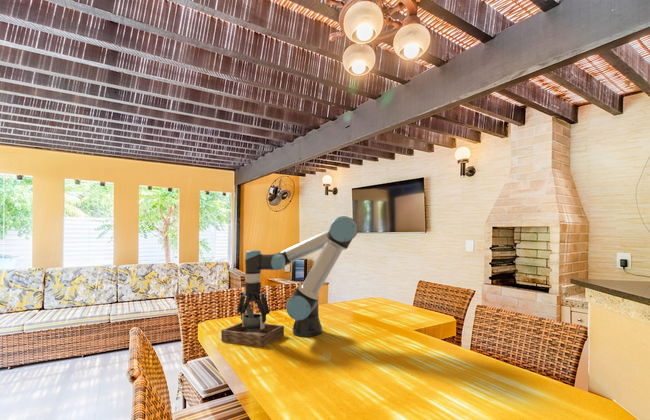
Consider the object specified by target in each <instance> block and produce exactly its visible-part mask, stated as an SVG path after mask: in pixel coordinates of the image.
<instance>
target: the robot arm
mask: <svg viewBox="0 0 650 420" xmlns="http://www.w3.org/2000/svg"><path fill="white" fill-rule="evenodd" d="M358 233H359V225H358V223H357V222H356V220H355V219H354V218H351V217H349V216H345V215H341V216H337V217H336V218H334V220H332V222H331V223H330V225H329V227H328V229H327V230H324V231H322V232H320V233H318V234H316V235H313V236H312V237H309V238H307V239H305V240H302V241H301V242H298V243H296V244H294V245H292V246H290V247H287V248H286V249H283V250H281V251H279V252H277V253H273V254H271V253H270V254H263V253H261V250H257V249H256V250H255V249H254V250H251V249H250V250H246V251H245V257H244V258H245V259H244V265H245V268H244V269H245V270H244V271H245V273H244V274H245V275H244V277H245V279H244V280H245V287H244V290H245V291H242V292H240V297H239V302H238V307H237V312H238V313H240V320H241V323H242V327H245V325H244V322H243V317H244V316H245V315H248V314H247V309H246V307H247V305H249V304H250V303H251V302H255V304H256V306H257V308H258V310H259V312H260V314H261V316H260V329H261V330H262V329H264V328H265V324H266V321H267V315H268V314H270V307H269V305H268V300H267V293H266V292H264V293H262V292H261V289H262V283H261V280H262V278H261V277H262V275H261V273H262V271H263V270H266V271H270V270H271V271H279V270H280V271H281V270H283V269H284V268H285V267H286V266H287V265H289V264H292V263H293V262H296V261H298V260H300V259H302V258H304V257H307V256H308V255H311V254H313V253H316V252H318V251H320V253H319V254H318V256H317V258H316V259H315V261H314V263H313V264H312V267H311V269H310V270H309V272H308V273H307V275H306V277H305V279H304V281H303V283H302V284H298V285H297V286H296V288H295V290H294V292H293V294H292V295H291V297H289V298H288V300H287V302H286V305H285V310H286V313H287V315H288V316H289V317H290V318H291V319H293V320H294V323H293V326H292V335H295V336H298V337H314V336H319V335H321V334H322V333H323V326H322V324H321V319H320V318H319V317H320V316H319V313H320V311H319V292H321V291H320V290H321V289H322V287H323V285H324V283H325V281H326V280H327V278H328V276H329V275H330V273H331V271H332V270H333V267H334V266H335V264H336V263H337V260H338V259H339V257H340V256H341V254H342V252H343V251H344V250H347V249H348V248H349V246H350V244H351V242H352V241H353V239H355V237H356V236H357V235H358Z"/></svg>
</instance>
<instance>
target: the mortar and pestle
mask: <svg viewBox="0 0 650 420" xmlns="http://www.w3.org/2000/svg"><path fill="white" fill-rule="evenodd" d="M246 313H247V315H245V316H244V317H243V322H244V325H245V326H246V327H247V331H248V332H257V331H259V330H260V328H259V327H260V316H261V313H254V312H253V309H252V305H251V304H250V303H249V305H247V307H246Z"/></svg>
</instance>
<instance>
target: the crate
mask: <svg viewBox="0 0 650 420" xmlns="http://www.w3.org/2000/svg"><path fill="white" fill-rule="evenodd" d="M259 328H260V327H259ZM220 336H221V339H220V340H221V342H226V343H233V344H239V345H246V346H253V347H259V348H264V347H266V346H268V345H270V344H272V343H273V342H276V341H277V340H279V339H282V338H283V337H284V336H285V326H284V325H280V324H279V325H278V324H270V323H265V328H264V329H262V330H261V329H260V330H259V331H257V332H248V331H247V327H246V326H245V327H242V322H240V323H236V324H234V325H231V326H229V327H226V328H223V329H222V330H221V335H220ZM275 340H276V341H275Z"/></svg>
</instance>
